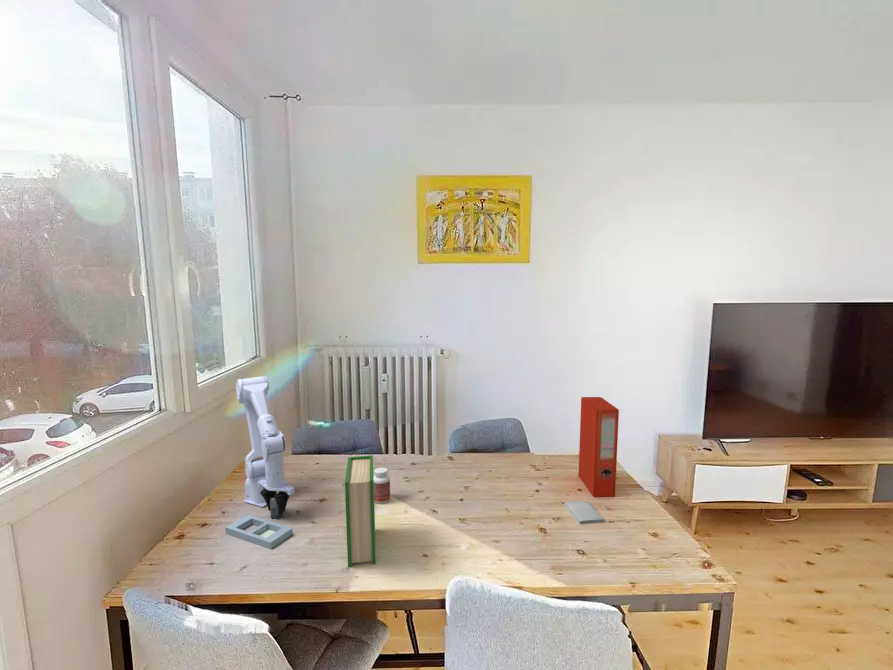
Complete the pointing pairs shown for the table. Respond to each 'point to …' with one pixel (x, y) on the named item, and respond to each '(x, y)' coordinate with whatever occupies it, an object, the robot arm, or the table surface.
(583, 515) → the hard drive
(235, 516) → the table surface
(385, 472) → the pill bottle
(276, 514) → the peg
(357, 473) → the hardback book
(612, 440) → the file binder
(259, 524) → the grey double-hole frame
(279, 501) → the robot arm
